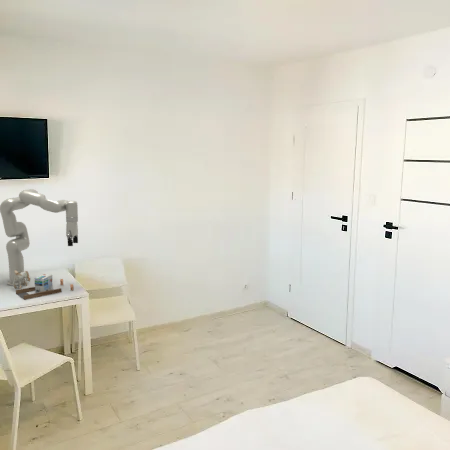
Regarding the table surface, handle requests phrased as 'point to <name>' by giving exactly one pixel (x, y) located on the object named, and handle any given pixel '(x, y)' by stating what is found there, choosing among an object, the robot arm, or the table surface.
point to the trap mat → (22, 295)
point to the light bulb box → (43, 283)
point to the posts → (70, 284)
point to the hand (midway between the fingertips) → (73, 244)
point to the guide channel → (37, 293)
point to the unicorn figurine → (21, 276)
